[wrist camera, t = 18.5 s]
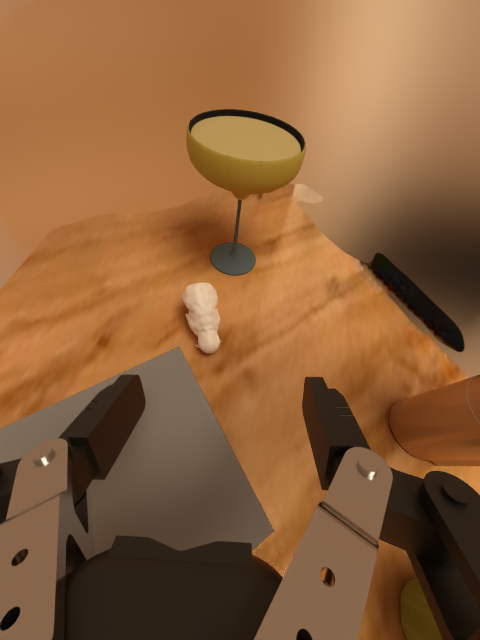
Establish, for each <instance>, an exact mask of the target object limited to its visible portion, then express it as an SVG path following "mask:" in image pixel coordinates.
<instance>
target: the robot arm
mask: <svg viewBox="0 0 480 640" xmlns="http://www.w3.org/2000/svg"><path fill="white" fill-rule="evenodd" d="M145 405H146V399H145V395H144V391H143V387H142V383H141V379H140V376H139V375H128V374H123V375H120V376H119V377H118V379H117V380H116V381H115V382H114V383H113V384H112V385H109V386H107V387H106V388H104V389H103V390H101V391H100V392H99V393H98V394H97V395H96V396H95V397H94V398H93V399H92V401H91V403H89V404H88V405H87V406H86V407H85V410H83V411H82V412H81V413H80V414H79V415H78V416H77V417H76V418H75V420H74V421H73V422H72V423H71V424H70V425H69V426H68V427H67V428H66V430H65V431H64V432H63V433H62V434H61V435H60V436H59V437H58V438H56V439H51V440H48V441H45V442H43V443H41V444H39V445H37V446H36V447H34V448H33V449H31V450H30V451H29V452H28V453H27V454H26V455H25V456H24V457H23V458H20V459H16V460H12V461H8V462H4V463H0V640H358V637H359V632H360V628H361V624H362V619H363V615H364V610H365V606H366V602H367V597H368V593H369V589H370V584H371V580H372V576H373V571H374V567H375V563H376V558H377V553H378V547H379V545H378V540H379V539H380V540H382V541H384V542H387V543H389V544H392V545H394V546H396V547H399V548H401V549H403V550H406V552H407V554H408V556H409V559H410V561H411V564H412V566H413V568H414V571H415V573H416V576H417V578H418V581H419V583H420V585H421V588H422V590H423V593H424V595H425V598H426V600H427V602H428V605H429V607H430V610H431V612H432V615H433V617H434V619H435V622H436V624H437V627H438V629H439V632H440V634H441V636H442V639H443V640H480V495H479V494H478V493H477V492H476V491H475V490H474V489H473V488H472V487H470V486H469V485H468V484H467V483H465V482H464V481H462V480H461V479H459V478H457V477H455V476H453V475H451V474H449V473H445V472H441V471H431V472H429V473H427V474H426V475H425V477H424V479H422V478H419V477H415V476H412V475H409V474H406V473H403V472H400V471H397V470H395V469H393V468H391V467H389V465H388V464H387V463H386V461H385V460H384V459H383V458H382V457H381V456H379V455H378V454H377V453H375V452H373V451H371V449H370V447H369V445H368V443H367V441H366V439H365V437H364V435H363V433H362V431H361V429H360V427H359V425H358V423H357V421H356V419H355V417H354V416H353V414H352V412H351V410H350V408H349V406H348V404H347V402H346V400H345V398H344V396H343V395H342V394H340V393H339V392H338V391H337V390H336V389H328V388H327V386H326V383H325V381H324V379H323V377H306V378H305V383H304V392H303V402H302V408H303V416H304V420H305V424H306V428H307V432H308V436H309V440H310V444H311V448H312V452H313V456H314V460H315V464H316V468H317V472H318V476H319V480H320V484H321V487H322V490H328V491H327V494H326V496H325V498H324V500H323V502H322V503H321V502H320V503H319V504H318V506H317V508H316V510H315V512H314V514H313V516H312V518H311V520H310V522H309V524H308V526H307V528H306V531H305V533H304V535H303V537H302V539H301V541H300V543H299V545H298V547H297V550H296V552H295V554H294V556H293V558H292V560H291V562H290V564H289V566H288V569H287V571H286V573H285V575H284V577H282V576H281V575H280V574H279V573H278V572H277V571H276V570H275V569H274V568H273V567H272V566H270V565H269V564H268V563H266V562H265V561H263V560H262V559H260V558H258V557H256V556H254V555H252V543H245V542H227V541H216V542H212V543H208V544H205V545H201V546H198V547H194V548H190V549H187V550H183V551H179V550H176V549H174V548H171V547H169V546H167V545H165V544H163V543H160V542H158V541H156V540H154V539H152V538H149V537H137V536H119V535H116V537H115V540H114V542H113V544H112V547H111V549H108V550H105V551H103V552H101V553H99V554H97V553H96V549H95V546H94V541H93V531H92V517H91V502H90V491H89V488H88V487H89V485H90V483H91V482H92V480H105V479H106V477H107V475H108V473H109V472H110V470H111V468H112V466H113V465H114V463H115V461H116V459H117V458H118V456H119V454H120V452H121V451H122V449H123V447H124V445H125V444H126V442H127V440H128V438H129V437H130V435H131V433H132V431H133V430H134V428H135V426H136V424H137V423H138V421H139V419H140V417H141V416H142V414H143V412H144V409H145ZM389 423H390V427H391V431H392V433H393V435H394V437H395V438H396V440H397V441H398V443H399V444H400V445H401V446H402V448H403V449H404V450H406V451H407V452H408V453H409V454H411V455H412V456H414V457H416V458H418V459H421V460H427V461H431V462H432V463H433V464H435V465H436V466H480V375H477V376H475V377H471V378H468V379H465V380H462V381H459V382H456V383H453V384H450V385H447V386H444V387H441V388H438V389H435V390H432V391H429V392H426V393H422V394H419V395H416V396H413V397H410V398H406V399H404V400H402V401H399V402H397V403H395V404H394V405H393V406H392V408H391V410H390V413H389Z"/></svg>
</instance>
